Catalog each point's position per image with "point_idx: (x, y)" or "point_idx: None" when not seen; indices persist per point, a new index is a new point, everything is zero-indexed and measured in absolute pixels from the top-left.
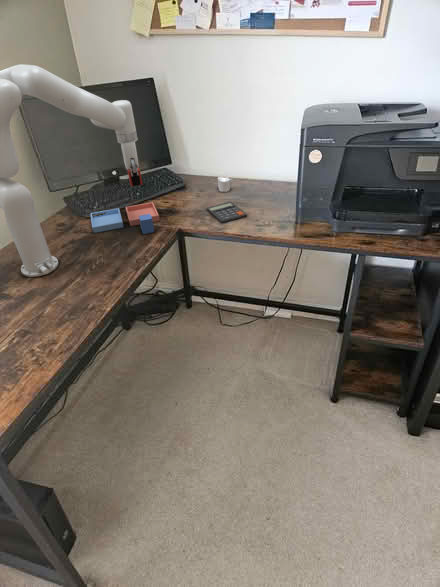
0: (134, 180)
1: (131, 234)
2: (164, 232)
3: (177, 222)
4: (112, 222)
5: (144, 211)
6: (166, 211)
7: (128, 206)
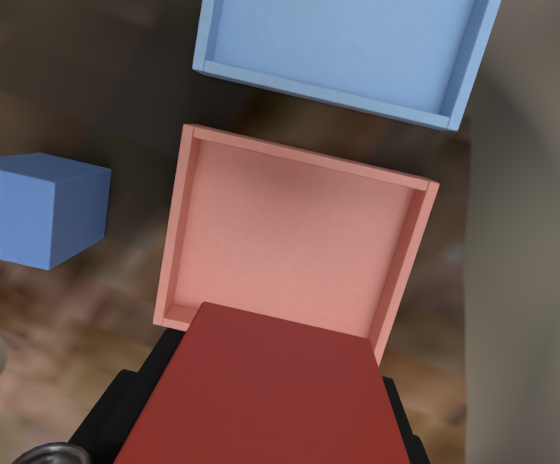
0: (92, 412)
1: (74, 85)
2: (5, 268)
3: (89, 374)
4: (311, 19)
5: (335, 280)
6: None
7: (430, 207)
